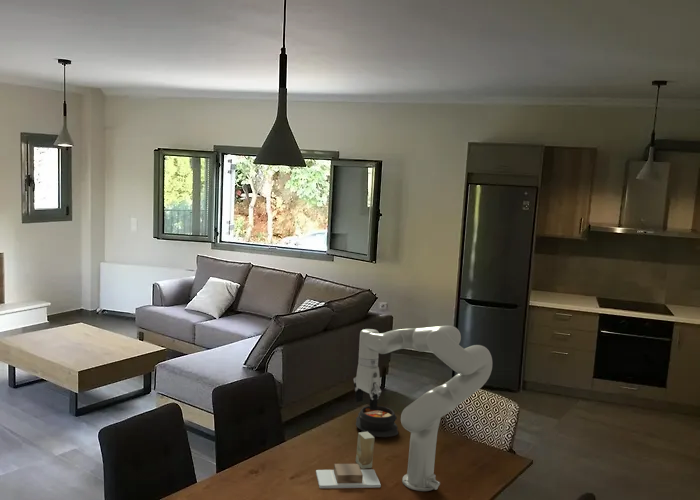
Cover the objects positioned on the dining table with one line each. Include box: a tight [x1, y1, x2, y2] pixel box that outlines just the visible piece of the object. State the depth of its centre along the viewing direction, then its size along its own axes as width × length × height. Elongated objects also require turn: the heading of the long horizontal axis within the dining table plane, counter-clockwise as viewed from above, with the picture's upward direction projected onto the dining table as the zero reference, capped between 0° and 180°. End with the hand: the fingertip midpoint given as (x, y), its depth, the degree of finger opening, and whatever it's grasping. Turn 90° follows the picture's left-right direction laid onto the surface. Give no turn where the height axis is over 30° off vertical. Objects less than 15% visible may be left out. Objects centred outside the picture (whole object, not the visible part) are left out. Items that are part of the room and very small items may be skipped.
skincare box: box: [355, 431, 375, 470], centre depth 240 cm, size 6×4×12 cm
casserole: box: [355, 405, 399, 438], centre depth 276 cm, size 25×19×8 cm
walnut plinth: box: [333, 463, 363, 483], centre depth 228 cm, size 9×9×3 cm
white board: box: [315, 468, 382, 489], centre depth 228 cm, size 22×12×1 cm, turn 100°
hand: (365, 405), depth 241 cm, fingers open, 9 cm apart
